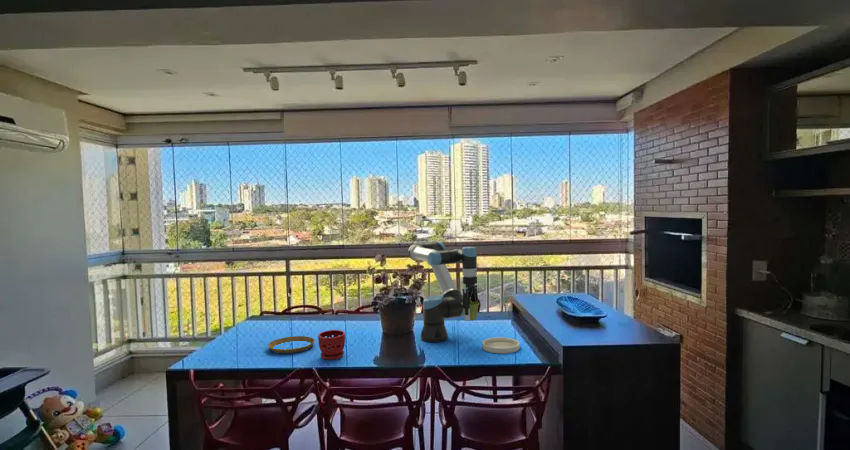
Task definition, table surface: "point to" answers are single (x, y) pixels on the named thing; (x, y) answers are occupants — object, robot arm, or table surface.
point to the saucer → (500, 345)
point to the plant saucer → (288, 339)
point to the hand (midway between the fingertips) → (470, 318)
